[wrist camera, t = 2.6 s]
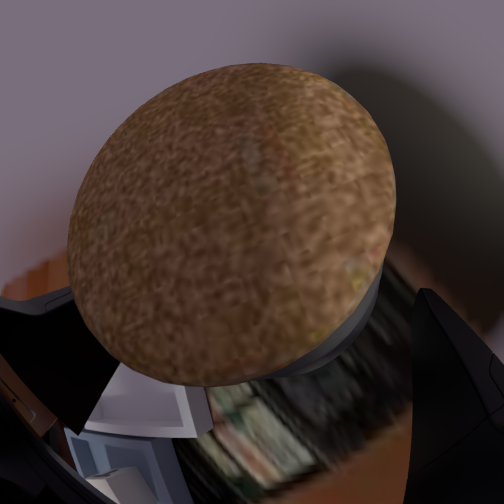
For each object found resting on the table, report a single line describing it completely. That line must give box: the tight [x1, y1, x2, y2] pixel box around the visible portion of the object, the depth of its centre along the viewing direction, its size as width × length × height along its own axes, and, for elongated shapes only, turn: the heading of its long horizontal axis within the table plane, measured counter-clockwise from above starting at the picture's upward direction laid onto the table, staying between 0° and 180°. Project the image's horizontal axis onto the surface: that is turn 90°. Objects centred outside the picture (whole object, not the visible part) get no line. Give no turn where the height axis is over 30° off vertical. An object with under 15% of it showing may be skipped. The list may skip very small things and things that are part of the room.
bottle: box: [67, 63, 396, 387], centre depth 10 cm, size 6×6×15 cm
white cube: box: [84, 466, 159, 504], centre depth 13 cm, size 4×4×4 cm
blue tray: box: [64, 426, 194, 504], centre depth 14 cm, size 12×12×2 cm
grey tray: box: [85, 363, 214, 438], centre depth 18 cm, size 12×12×2 cm
